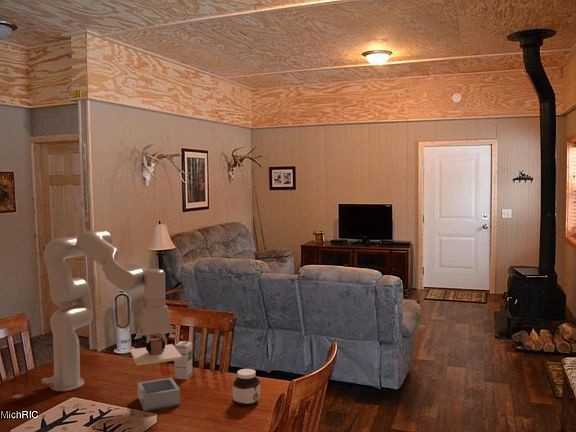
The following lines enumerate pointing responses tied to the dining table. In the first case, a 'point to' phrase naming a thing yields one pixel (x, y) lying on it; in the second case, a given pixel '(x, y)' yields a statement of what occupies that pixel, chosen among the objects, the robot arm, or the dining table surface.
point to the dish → (158, 394)
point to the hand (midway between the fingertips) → (155, 351)
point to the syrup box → (184, 360)
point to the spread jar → (246, 387)
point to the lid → (155, 353)
